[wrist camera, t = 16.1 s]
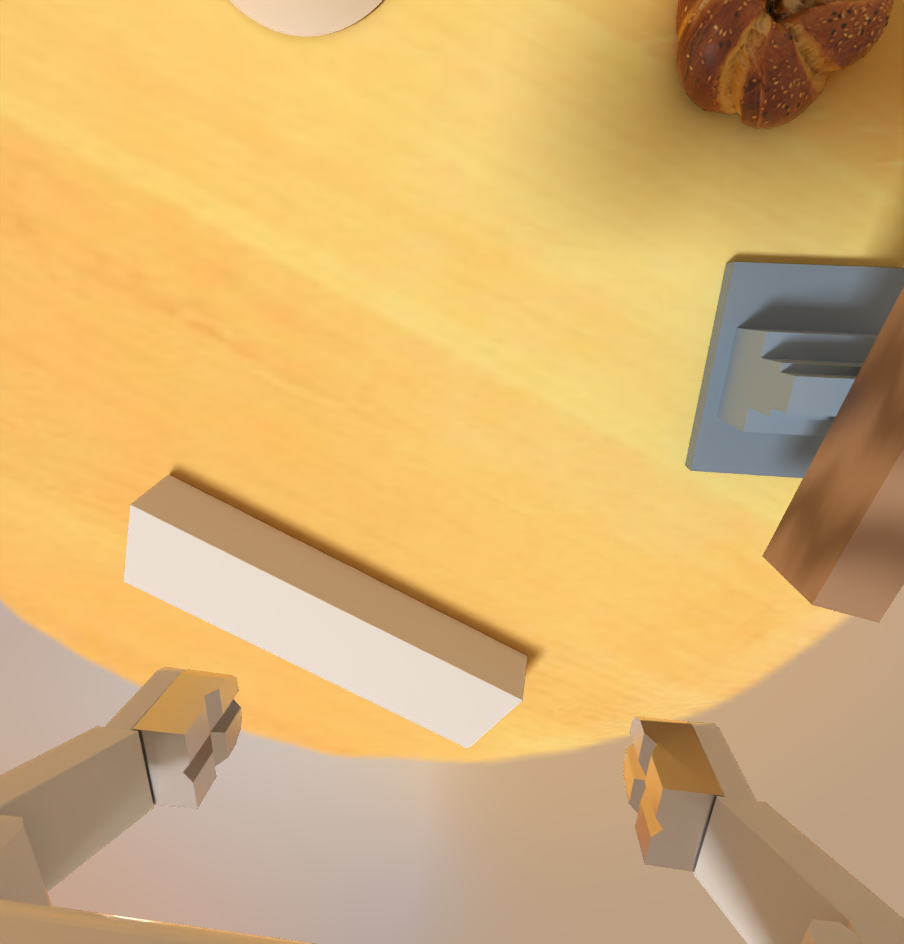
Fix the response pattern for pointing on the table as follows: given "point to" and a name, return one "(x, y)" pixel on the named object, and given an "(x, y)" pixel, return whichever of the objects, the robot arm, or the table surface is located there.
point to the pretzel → (770, 52)
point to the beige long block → (319, 613)
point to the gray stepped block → (784, 362)
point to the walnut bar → (853, 494)
